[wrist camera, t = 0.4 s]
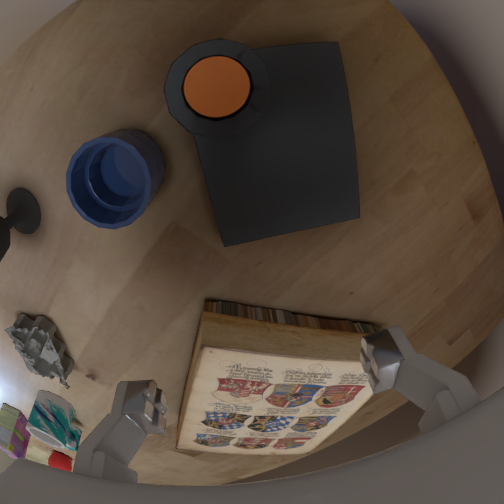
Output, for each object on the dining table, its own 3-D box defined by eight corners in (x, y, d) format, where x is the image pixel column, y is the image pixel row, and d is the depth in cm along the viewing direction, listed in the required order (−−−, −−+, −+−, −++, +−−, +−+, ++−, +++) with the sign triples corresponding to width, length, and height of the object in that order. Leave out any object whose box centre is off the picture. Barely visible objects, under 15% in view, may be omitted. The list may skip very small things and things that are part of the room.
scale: (164, 61, 17) (155, 55, 15) (330, 33, 17) (344, 25, 14) (213, 243, 25) (212, 261, 23) (355, 212, 25) (369, 226, 22)
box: (33, 428, 47) (23, 463, 36) (17, 420, 46) (6, 454, 35) (20, 410, 42) (7, 449, 32) (3, 402, 41) (-11, 439, 31)
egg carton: (79, 369, 33) (71, 392, 30) (40, 361, 32) (31, 381, 29) (54, 316, 28) (41, 339, 25) (13, 308, 27) (-1, 329, 24)
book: (311, 427, 46) (399, 324, 33) (317, 455, 41) (420, 360, 28) (177, 419, 41) (204, 295, 28) (174, 452, 36) (201, 344, 23)
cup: (85, 144, 20) (54, 157, 15) (153, 117, 19) (134, 123, 15) (108, 212, 23) (85, 238, 19) (175, 192, 23) (163, 215, 18)
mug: (58, 392, 37) (45, 431, 29) (93, 425, 43) (86, 460, 35) (30, 389, 37) (17, 423, 29) (65, 422, 43) (57, 454, 35)
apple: (73, 461, 59) (70, 481, 52) (51, 452, 56) (47, 472, 49) (73, 456, 56) (69, 478, 49) (49, 446, 53) (44, 467, 46)
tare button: (181, 68, 16) (177, 65, 14) (241, 54, 16) (242, 50, 14) (194, 122, 18) (191, 124, 16) (253, 108, 18) (256, 109, 16)
